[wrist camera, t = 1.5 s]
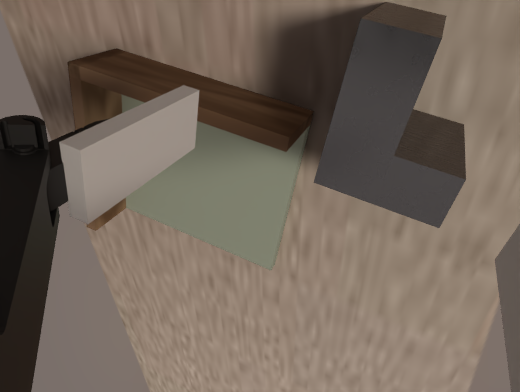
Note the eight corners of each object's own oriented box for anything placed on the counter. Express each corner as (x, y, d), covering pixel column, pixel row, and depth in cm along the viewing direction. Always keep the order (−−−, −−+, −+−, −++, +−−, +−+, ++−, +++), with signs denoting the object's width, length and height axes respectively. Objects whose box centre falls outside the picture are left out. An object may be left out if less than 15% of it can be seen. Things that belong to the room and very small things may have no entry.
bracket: (386, 1, 27) (361, 18, 20) (510, 31, 25) (531, 60, 18) (345, 133, 33) (313, 182, 26) (443, 165, 31) (439, 228, 24)
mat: (116, 48, 38) (109, 50, 37) (313, 111, 33) (310, 115, 32) (123, 199, 48) (117, 204, 47) (274, 264, 43) (271, 270, 42)
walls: (116, 48, 38) (67, 61, 33) (313, 111, 33) (289, 137, 28) (123, 199, 48) (86, 226, 43) (274, 264, 43) (251, 302, 38)
